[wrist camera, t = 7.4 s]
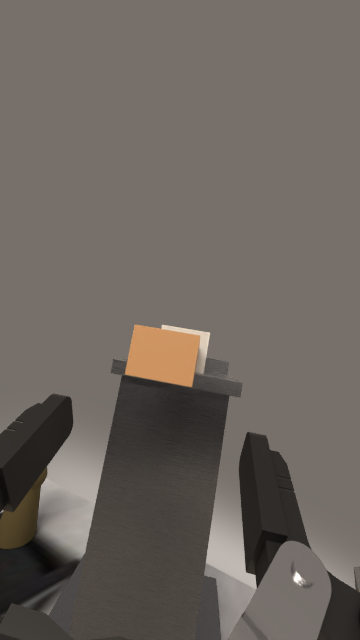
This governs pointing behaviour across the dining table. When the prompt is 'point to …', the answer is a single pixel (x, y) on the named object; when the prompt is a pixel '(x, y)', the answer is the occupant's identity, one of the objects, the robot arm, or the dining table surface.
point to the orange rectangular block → (167, 354)
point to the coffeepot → (357, 578)
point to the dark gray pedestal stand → (153, 514)
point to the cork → (22, 518)
